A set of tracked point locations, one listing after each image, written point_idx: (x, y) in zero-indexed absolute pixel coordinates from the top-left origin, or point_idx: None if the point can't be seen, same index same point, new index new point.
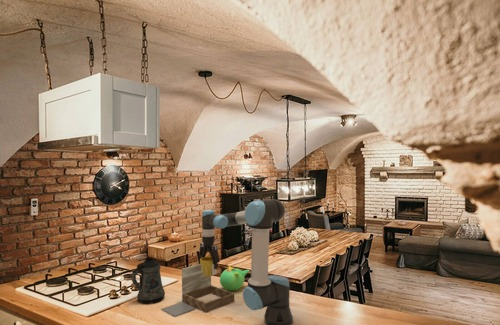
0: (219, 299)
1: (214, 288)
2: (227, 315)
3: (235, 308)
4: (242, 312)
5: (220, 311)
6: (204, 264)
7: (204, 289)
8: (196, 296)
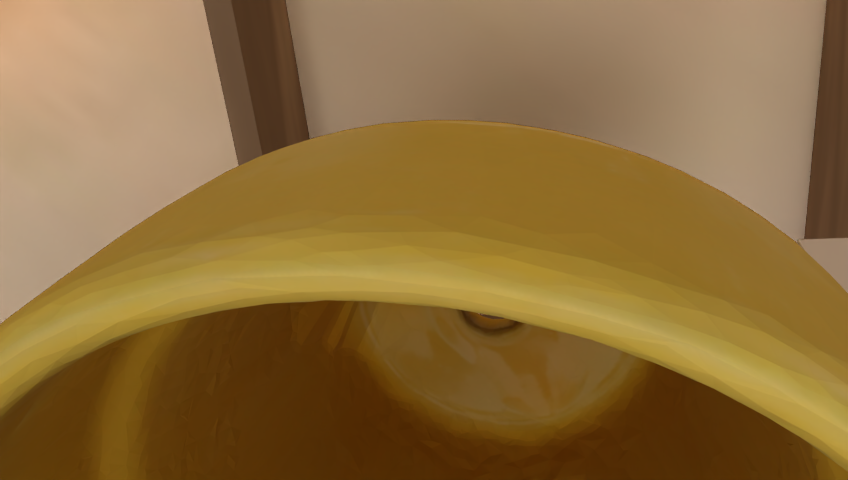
0: (232, 117)
1: None
2: (14, 14)
3: (146, 216)
4: (12, 199)
5: (162, 19)
6: (190, 195)
7: (839, 233)
8: (833, 33)
